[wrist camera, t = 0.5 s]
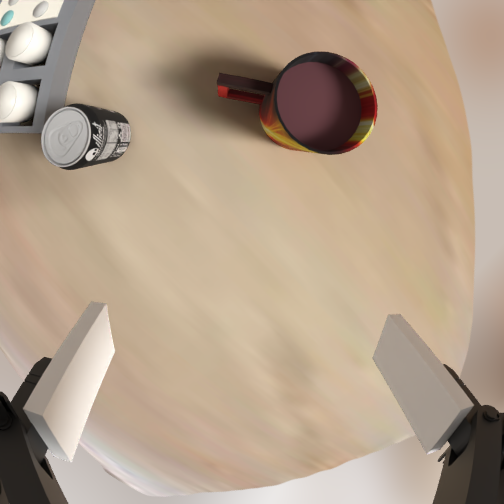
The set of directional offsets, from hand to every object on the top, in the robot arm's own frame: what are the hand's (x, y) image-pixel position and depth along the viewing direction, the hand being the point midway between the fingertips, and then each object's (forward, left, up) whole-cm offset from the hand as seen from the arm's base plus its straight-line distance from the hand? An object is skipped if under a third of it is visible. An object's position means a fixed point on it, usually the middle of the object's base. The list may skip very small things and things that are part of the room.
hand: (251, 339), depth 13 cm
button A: (-19, -31, -24) cm, 43 cm away
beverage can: (-7, -18, -27) cm, 33 cm away
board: (-19, -35, -27) cm, 48 cm away
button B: (-11, -31, -24) cm, 40 cm away
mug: (-13, +3, -27) cm, 30 cm away
